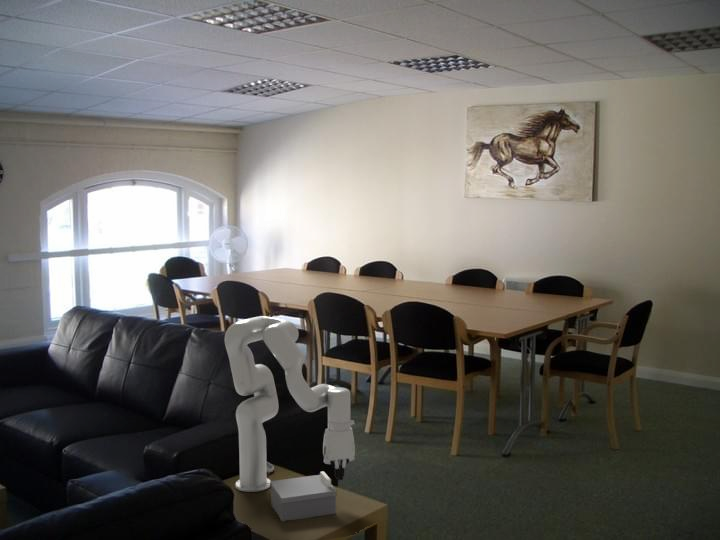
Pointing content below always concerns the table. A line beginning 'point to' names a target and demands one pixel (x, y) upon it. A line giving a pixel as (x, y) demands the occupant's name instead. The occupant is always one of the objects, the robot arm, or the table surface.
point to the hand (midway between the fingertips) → (339, 478)
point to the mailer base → (303, 507)
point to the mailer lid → (304, 488)
